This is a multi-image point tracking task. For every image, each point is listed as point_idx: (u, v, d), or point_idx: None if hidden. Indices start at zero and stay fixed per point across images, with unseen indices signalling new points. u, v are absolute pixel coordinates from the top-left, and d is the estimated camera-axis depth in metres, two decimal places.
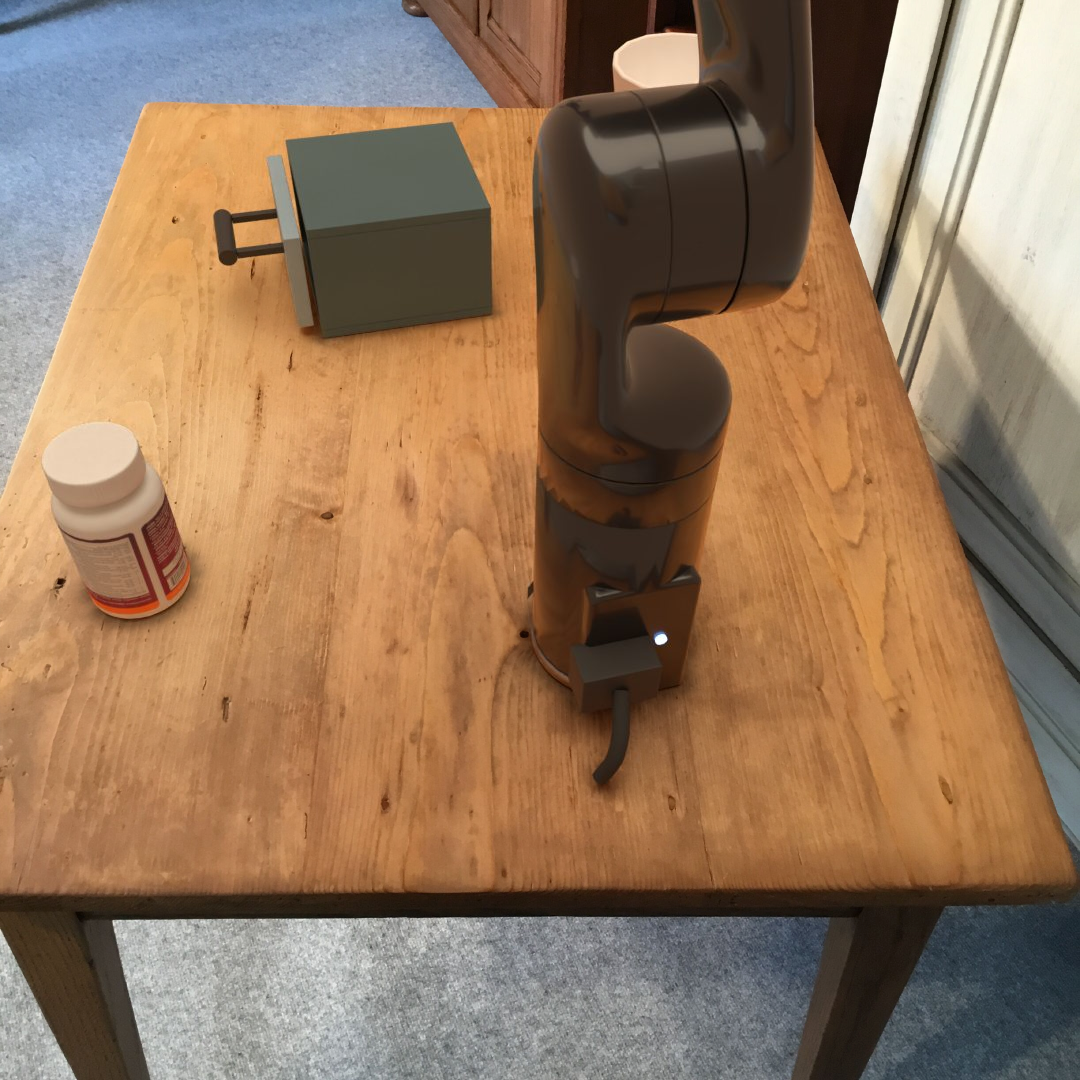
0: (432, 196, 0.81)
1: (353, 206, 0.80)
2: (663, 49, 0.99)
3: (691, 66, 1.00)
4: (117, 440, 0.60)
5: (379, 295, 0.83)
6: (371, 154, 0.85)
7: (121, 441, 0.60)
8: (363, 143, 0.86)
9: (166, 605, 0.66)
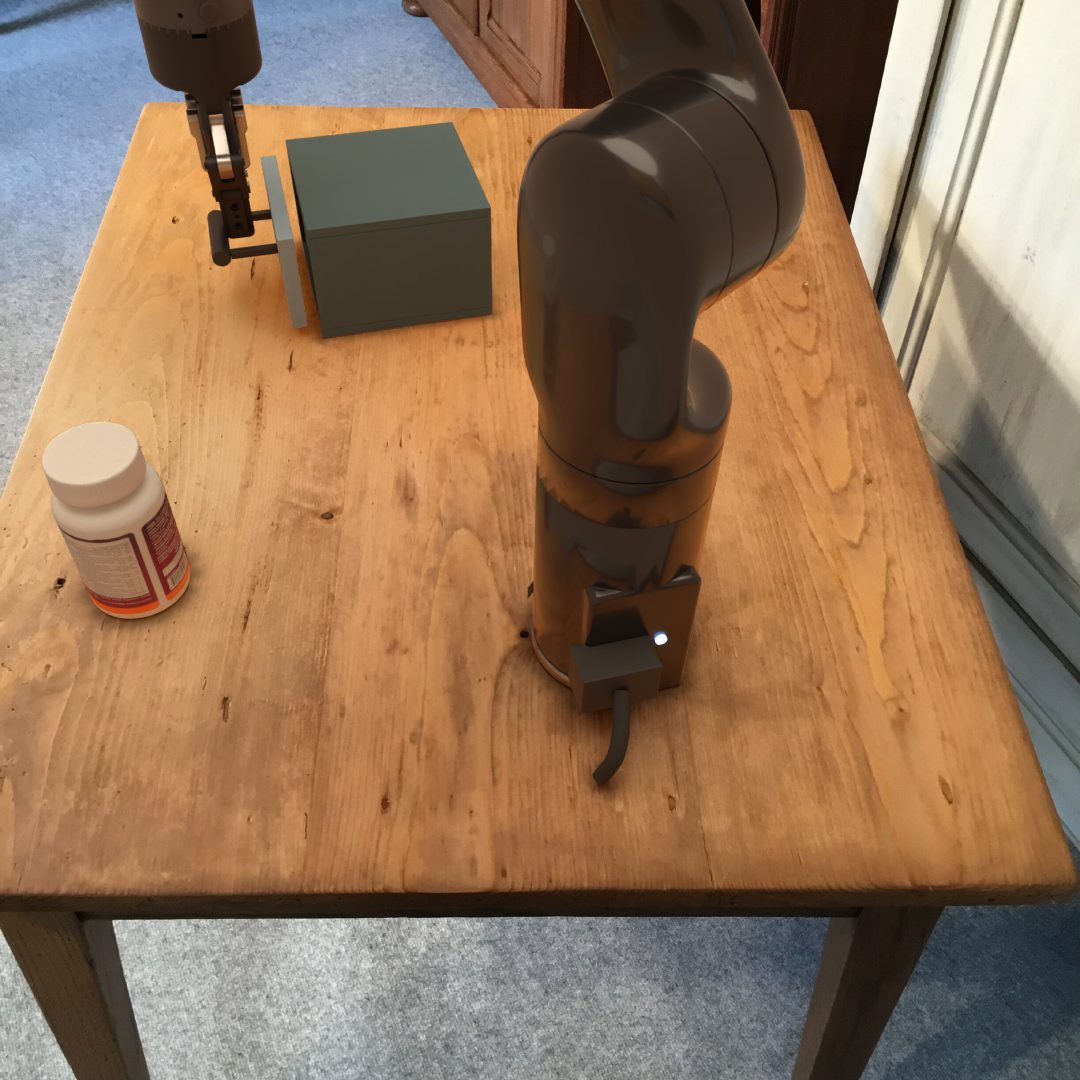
0: (432, 196, 0.81)
1: (353, 206, 0.80)
2: None
3: None
4: (117, 440, 0.60)
5: (379, 295, 0.83)
6: (371, 154, 0.85)
7: (121, 441, 0.60)
8: (363, 143, 0.86)
9: (166, 605, 0.66)
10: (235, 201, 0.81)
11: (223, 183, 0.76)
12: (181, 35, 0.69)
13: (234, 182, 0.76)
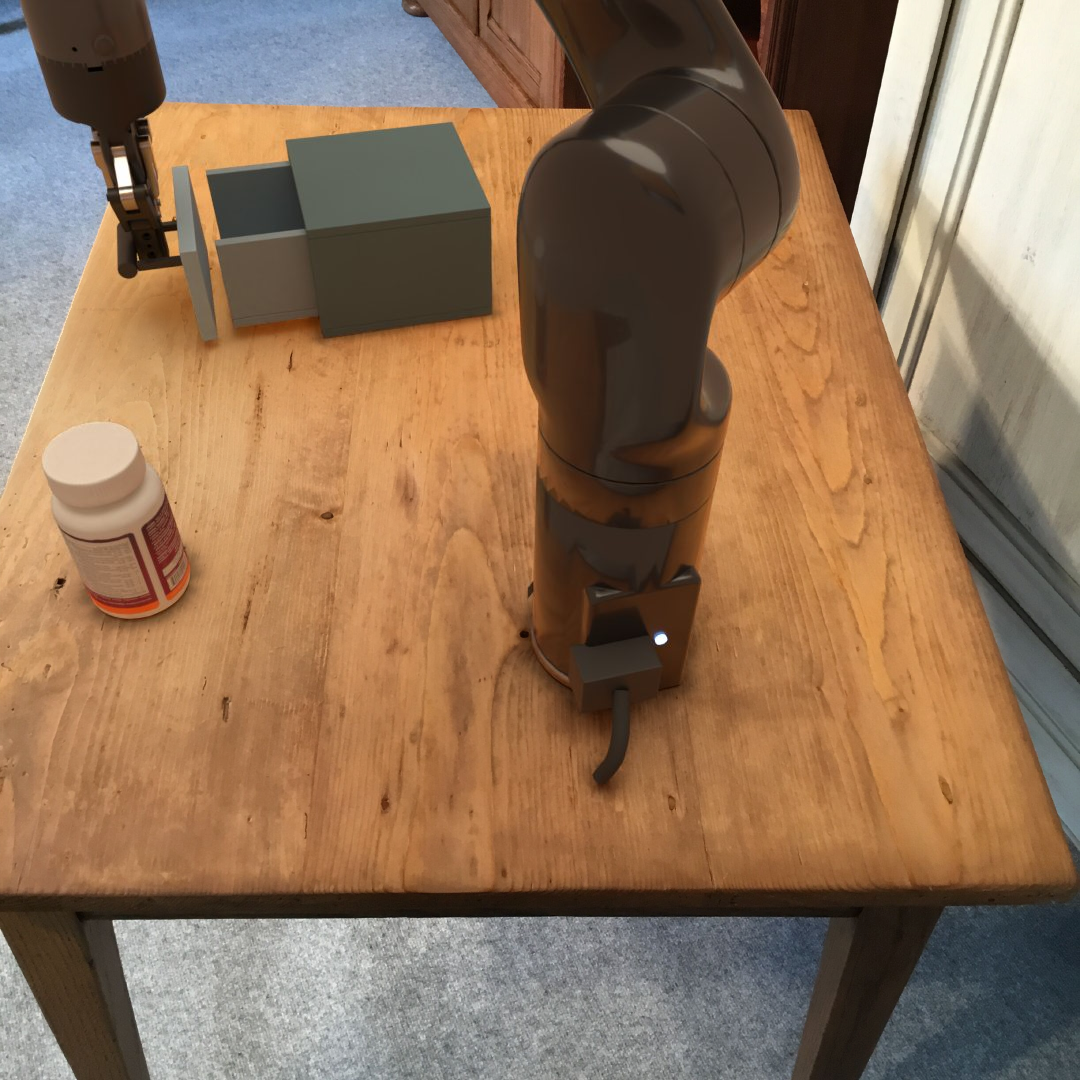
0: (432, 196, 0.81)
1: (353, 206, 0.80)
2: None
3: None
4: (117, 440, 0.60)
5: (379, 295, 0.83)
6: (371, 154, 0.85)
7: (121, 441, 0.60)
8: (363, 143, 0.86)
9: (166, 605, 0.66)
10: (146, 230, 0.80)
11: (128, 214, 0.75)
12: (77, 68, 0.69)
13: (140, 213, 0.76)
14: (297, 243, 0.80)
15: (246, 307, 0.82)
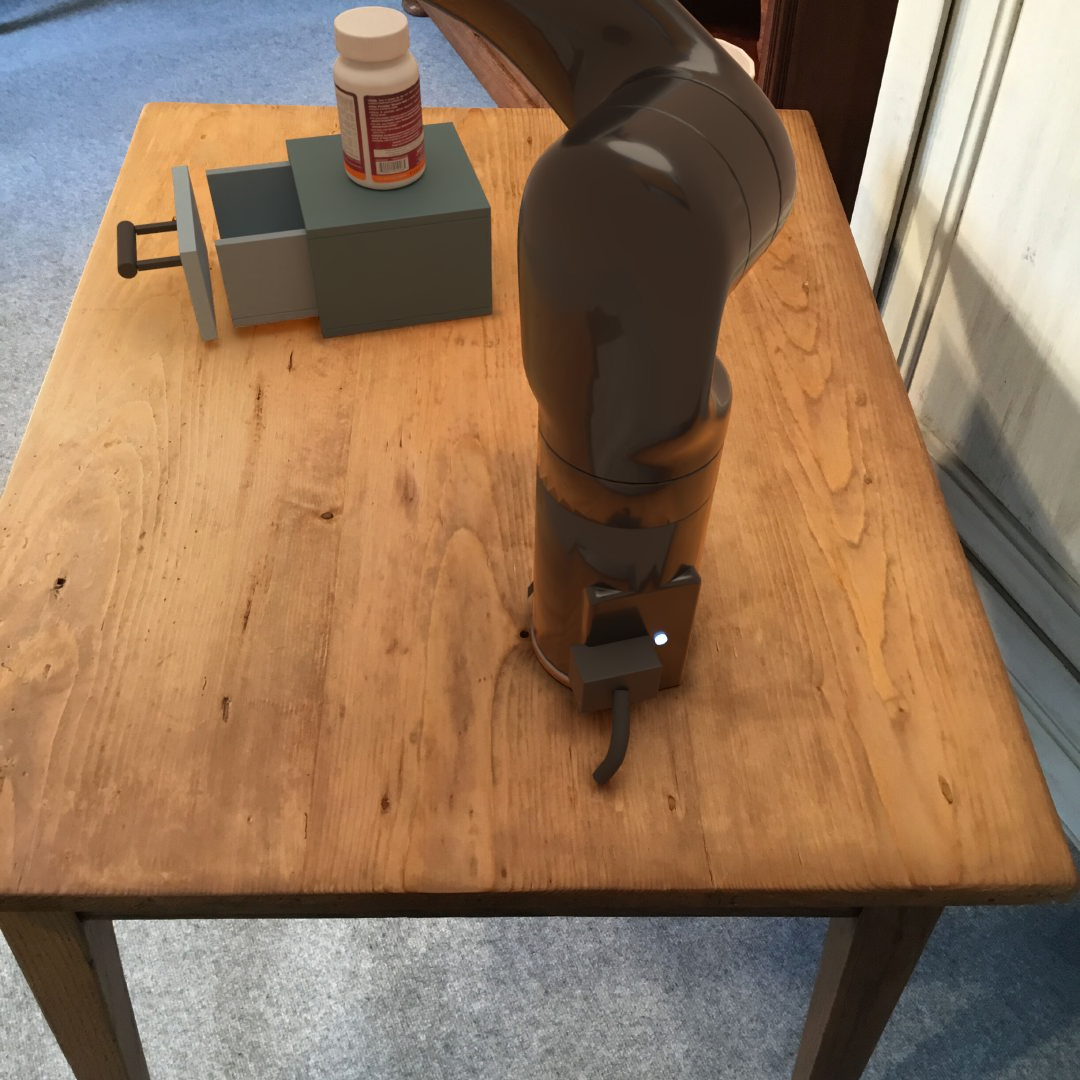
0: (432, 196, 0.81)
1: (353, 206, 0.80)
2: None
3: None
4: (391, 25, 0.75)
5: (379, 295, 0.83)
6: None
7: (391, 26, 0.74)
8: None
9: (370, 184, 0.81)
10: None
11: None
12: None
13: None
14: (297, 243, 0.80)
15: (246, 307, 0.82)
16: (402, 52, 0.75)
